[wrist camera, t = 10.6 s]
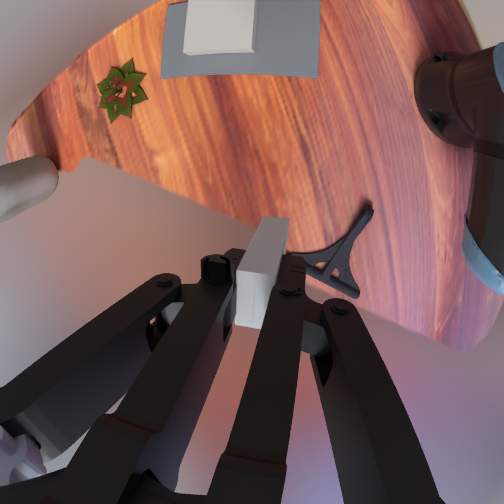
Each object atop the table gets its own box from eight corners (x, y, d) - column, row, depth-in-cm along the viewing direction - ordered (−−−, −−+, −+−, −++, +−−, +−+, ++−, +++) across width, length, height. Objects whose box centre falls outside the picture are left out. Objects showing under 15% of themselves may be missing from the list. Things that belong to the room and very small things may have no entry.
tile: (255, 53, 33) (258, -2, 29) (251, 48, 31) (255, -9, 26) (190, 56, 35) (195, 3, 30) (183, 52, 32) (188, -3, 28)
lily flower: (160, 102, 40) (146, 102, 36) (109, 135, 44) (93, 137, 40) (139, 47, 36) (124, 43, 32) (91, 83, 39) (75, 82, 35)
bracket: (403, 227, 41) (408, 234, 39) (354, 295, 48) (355, 304, 46) (328, 181, 41) (330, 185, 38) (283, 258, 48) (282, 266, 45)
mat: (320, -1, 28) (320, -2, 27) (317, 78, 34) (317, 78, 33) (168, 6, 31) (167, 5, 31) (161, 78, 37) (160, 78, 37)
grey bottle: (38, 186, 51) (-56, 232, 26) (43, 145, 46) (-61, 182, 22) (62, 202, 51) (-38, 258, 27) (69, 159, 47) (-45, 204, 22)
